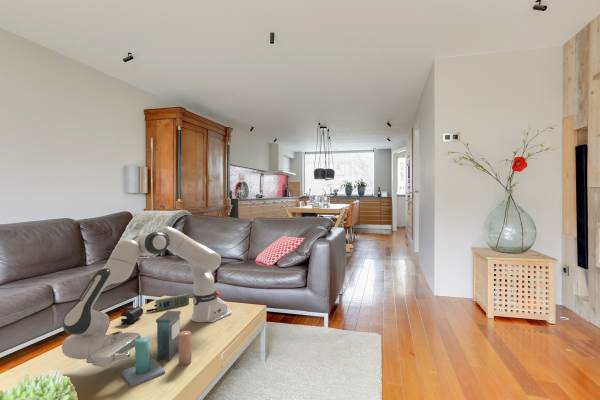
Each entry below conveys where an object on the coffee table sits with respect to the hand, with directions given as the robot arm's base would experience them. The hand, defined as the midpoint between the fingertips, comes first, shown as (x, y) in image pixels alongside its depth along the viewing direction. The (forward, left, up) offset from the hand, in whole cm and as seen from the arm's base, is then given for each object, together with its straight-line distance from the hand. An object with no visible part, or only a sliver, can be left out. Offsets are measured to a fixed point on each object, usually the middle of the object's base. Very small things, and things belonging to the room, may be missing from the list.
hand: (136, 349), depth 120 cm
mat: (-2, +2, -9) cm, 10 cm away
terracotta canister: (-17, +6, -9) cm, 20 cm away
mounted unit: (-15, -5, -9) cm, 18 cm away
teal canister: (-2, +2, -8) cm, 8 cm away
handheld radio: (-38, -63, -10) cm, 74 cm away
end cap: (-16, -57, -9) cm, 60 cm away
